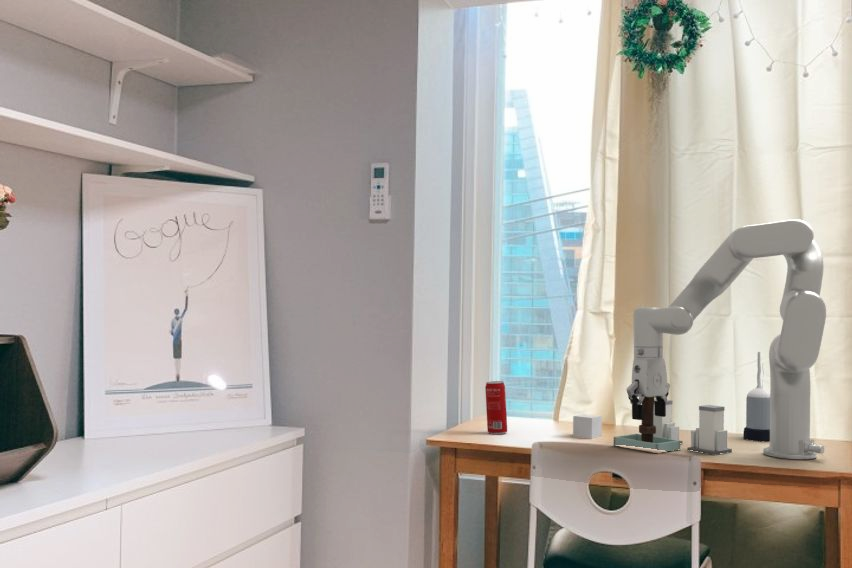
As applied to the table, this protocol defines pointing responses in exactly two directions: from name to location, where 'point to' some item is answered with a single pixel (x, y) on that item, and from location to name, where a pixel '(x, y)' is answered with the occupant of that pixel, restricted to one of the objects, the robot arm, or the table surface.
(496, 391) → the beverage can
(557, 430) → the table surface
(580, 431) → the light grey cube
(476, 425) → the table surface
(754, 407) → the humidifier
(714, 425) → the block
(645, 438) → the bolt
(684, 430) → the table surface
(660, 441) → the tray
